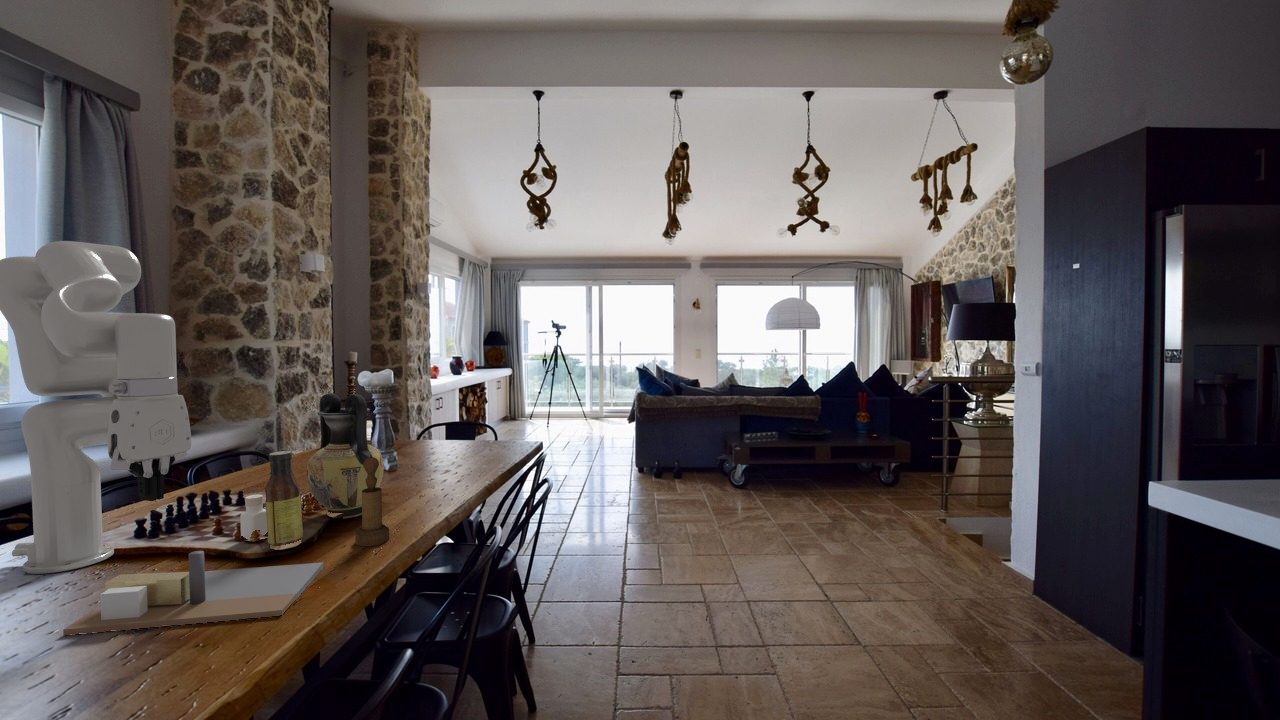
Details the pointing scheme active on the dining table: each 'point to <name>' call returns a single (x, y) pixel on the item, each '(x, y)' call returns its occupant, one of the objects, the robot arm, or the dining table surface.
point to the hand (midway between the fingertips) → (151, 499)
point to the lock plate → (259, 581)
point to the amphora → (342, 456)
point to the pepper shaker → (253, 516)
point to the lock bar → (156, 586)
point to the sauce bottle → (283, 502)
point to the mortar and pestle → (371, 510)
